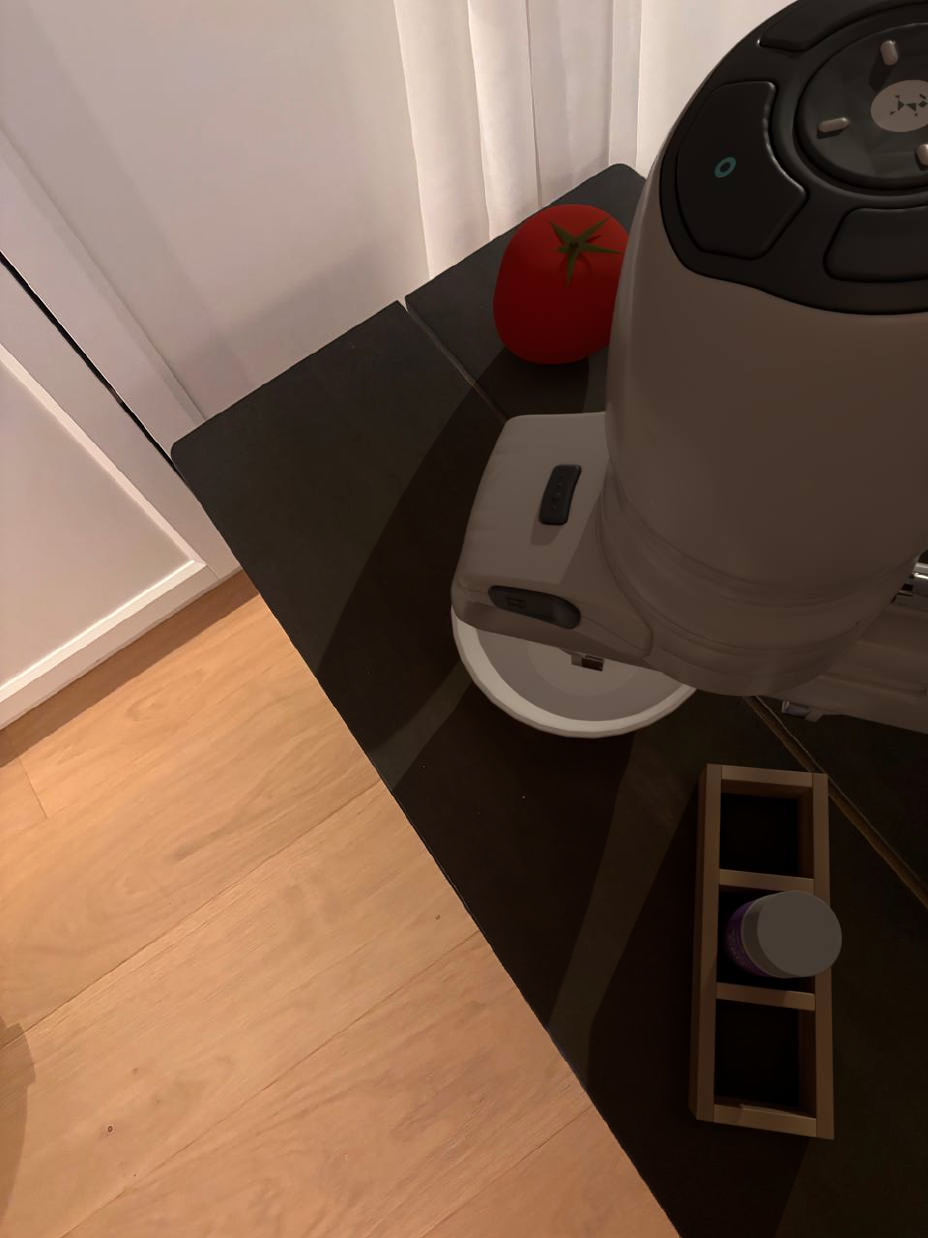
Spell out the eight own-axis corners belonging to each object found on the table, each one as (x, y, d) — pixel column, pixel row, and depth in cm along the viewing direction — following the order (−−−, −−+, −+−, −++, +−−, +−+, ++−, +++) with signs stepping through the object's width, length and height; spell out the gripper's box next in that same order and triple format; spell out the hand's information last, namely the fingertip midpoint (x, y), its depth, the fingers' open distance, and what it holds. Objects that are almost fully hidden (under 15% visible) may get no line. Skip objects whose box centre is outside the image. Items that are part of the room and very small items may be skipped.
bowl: (428, 590, 76) (410, 548, 68) (640, 495, 76) (646, 442, 69) (525, 804, 68) (517, 784, 61) (759, 698, 69) (780, 665, 61)
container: (704, 941, 64) (736, 935, 50) (745, 890, 64) (788, 869, 50) (760, 991, 62) (809, 999, 48) (802, 937, 63) (862, 930, 49)
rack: (811, 787, 66) (827, 774, 62) (815, 1126, 59) (834, 1140, 54) (698, 777, 68) (706, 763, 63) (688, 1107, 60) (696, 1119, 55)
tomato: (465, 332, 84) (448, 241, 74) (578, 248, 86) (577, 148, 76) (552, 415, 80) (546, 331, 69) (669, 325, 82) (681, 230, 71)
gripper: (1113, 524, 27) (944, 665, 40) (463, 407, 32) (498, 568, 44) (1100, 723, 25) (927, 804, 38) (409, 570, 30) (462, 689, 42)
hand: (693, 676), depth 41 cm, fingers open, 8 cm apart
